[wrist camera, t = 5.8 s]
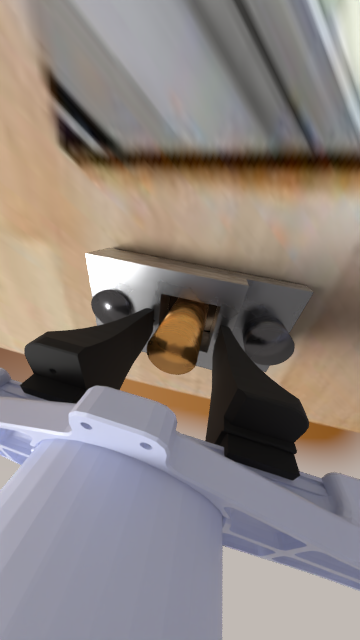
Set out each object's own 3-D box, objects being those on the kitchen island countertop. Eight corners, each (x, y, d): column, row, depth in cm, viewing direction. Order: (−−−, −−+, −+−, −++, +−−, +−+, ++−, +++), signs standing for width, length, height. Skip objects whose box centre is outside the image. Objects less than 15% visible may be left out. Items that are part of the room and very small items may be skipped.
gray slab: (304, 285, 12) (329, 304, 10) (262, 360, 17) (271, 390, 14) (109, 247, 14) (80, 254, 11) (116, 324, 19) (96, 343, 16)
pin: (211, 295, 15) (202, 340, 9) (204, 324, 16) (192, 380, 10) (178, 288, 15) (147, 326, 9) (174, 316, 16) (145, 366, 10)
